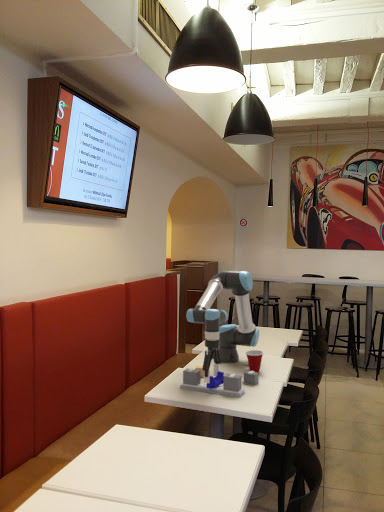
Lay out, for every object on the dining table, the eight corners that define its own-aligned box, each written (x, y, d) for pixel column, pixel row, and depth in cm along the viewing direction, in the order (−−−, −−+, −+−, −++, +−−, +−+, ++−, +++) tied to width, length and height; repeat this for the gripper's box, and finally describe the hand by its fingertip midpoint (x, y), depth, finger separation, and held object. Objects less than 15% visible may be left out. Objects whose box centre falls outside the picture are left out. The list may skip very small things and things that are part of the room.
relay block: (247, 381, 257) (247, 370, 257) (258, 383, 253) (258, 372, 253) (243, 383, 253) (243, 371, 253) (254, 385, 249) (255, 374, 249)
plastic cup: (241, 370, 279) (242, 350, 278) (256, 368, 283) (257, 349, 283) (251, 374, 269) (251, 354, 268) (266, 372, 273) (267, 353, 273)
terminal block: (196, 374, 270) (196, 365, 270) (206, 374, 269) (206, 366, 269) (195, 376, 266) (195, 367, 265) (205, 377, 265) (205, 368, 264)
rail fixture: (185, 384, 250) (185, 367, 249) (244, 393, 236) (244, 374, 235) (179, 388, 244) (180, 370, 243) (240, 397, 230) (240, 378, 229)
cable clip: (216, 381, 245) (216, 370, 245) (223, 383, 243) (223, 372, 243) (204, 387, 235) (204, 375, 235) (211, 388, 233) (211, 377, 233)
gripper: (214, 334, 252) (213, 372, 252) (196, 343, 229) (195, 385, 230) (226, 335, 249) (226, 374, 249) (209, 344, 226) (209, 387, 227)
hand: (211, 379), depth 240 cm, fingers open, 13 cm apart
